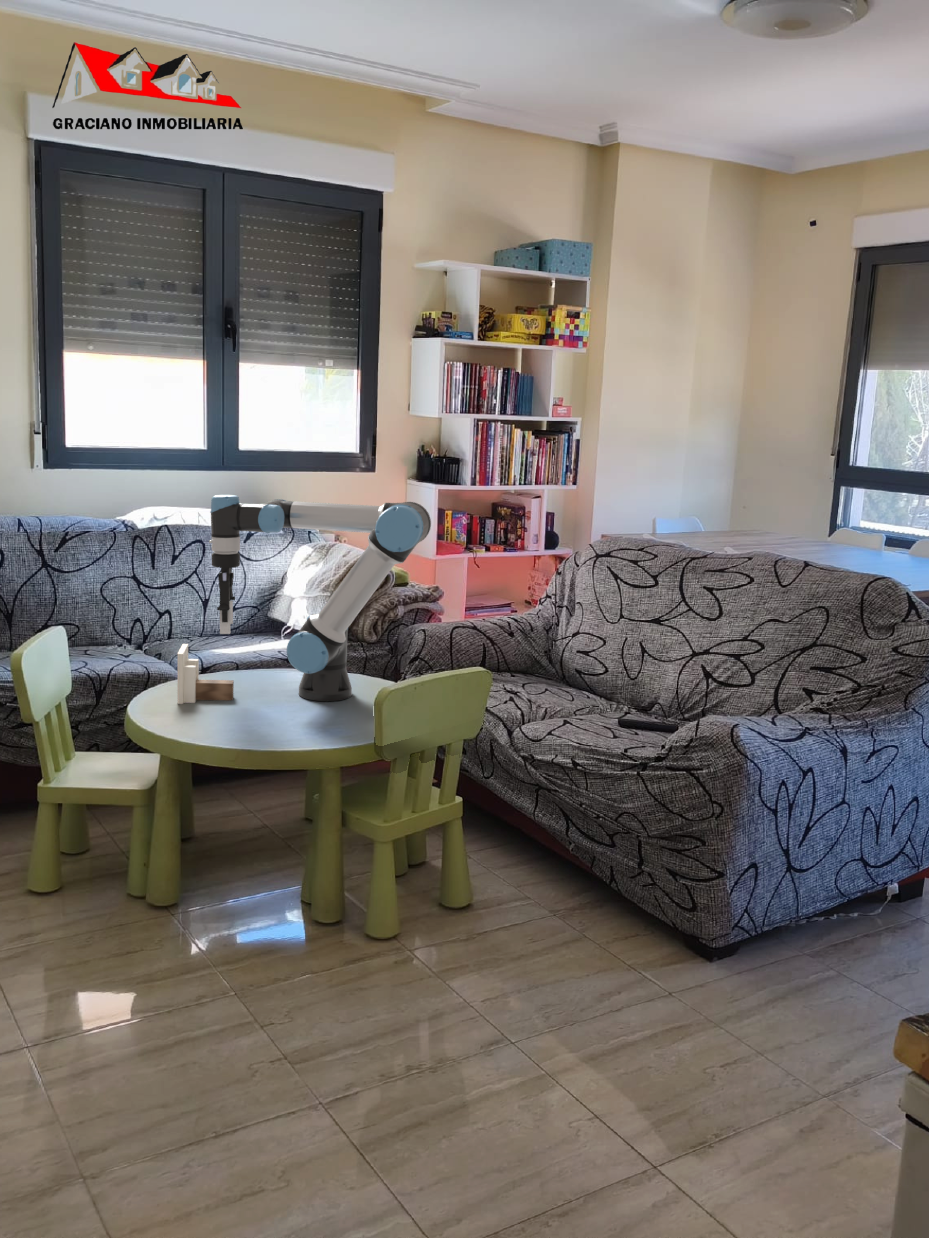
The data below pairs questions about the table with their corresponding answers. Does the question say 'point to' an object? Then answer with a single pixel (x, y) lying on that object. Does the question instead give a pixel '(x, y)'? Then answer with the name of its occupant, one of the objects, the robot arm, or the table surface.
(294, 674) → the table surface
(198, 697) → the brown rectangular block
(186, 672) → the white twin-rail base
